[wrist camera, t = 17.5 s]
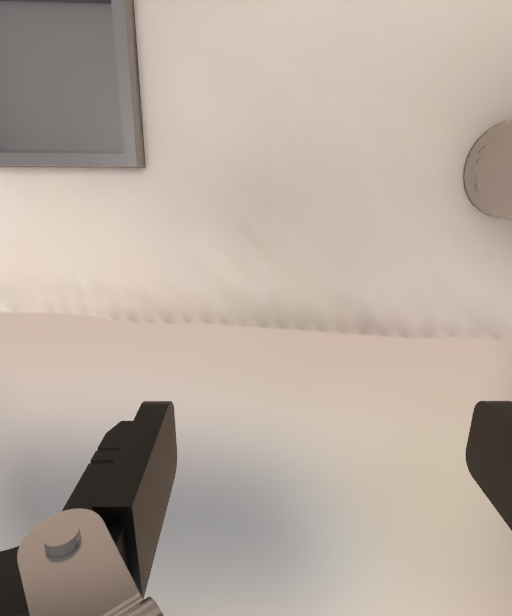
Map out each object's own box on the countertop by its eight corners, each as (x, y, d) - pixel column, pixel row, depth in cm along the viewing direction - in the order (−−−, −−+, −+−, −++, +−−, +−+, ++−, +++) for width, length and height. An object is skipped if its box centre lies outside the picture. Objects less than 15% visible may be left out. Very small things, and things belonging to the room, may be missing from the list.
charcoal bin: (133, -5, 35) (121, -25, 31) (145, 167, 39) (136, 165, 35) (-35, -9, 34) (-65, -31, 31) (-5, 166, 38) (-28, 164, 35)
